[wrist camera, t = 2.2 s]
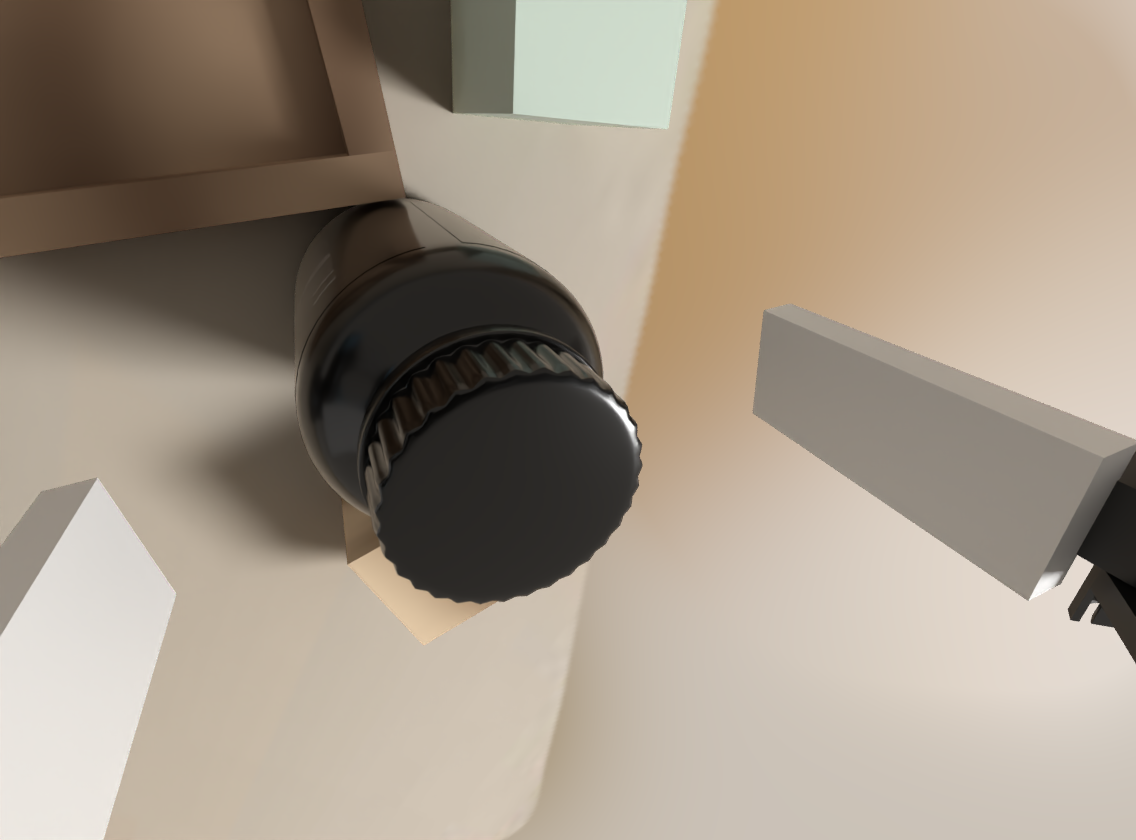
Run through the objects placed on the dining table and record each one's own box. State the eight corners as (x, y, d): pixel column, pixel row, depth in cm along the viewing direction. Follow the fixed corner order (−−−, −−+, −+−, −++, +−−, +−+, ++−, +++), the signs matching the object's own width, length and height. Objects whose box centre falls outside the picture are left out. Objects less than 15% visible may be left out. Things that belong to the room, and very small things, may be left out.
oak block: (403, 555, 24) (423, 645, 20) (339, 477, 21) (347, 564, 17) (504, 498, 24) (543, 574, 20) (455, 414, 21) (490, 484, 17)
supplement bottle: (393, 424, 20) (471, 700, 11) (243, 280, 16) (156, 520, 7) (536, 315, 21) (735, 491, 11) (423, 147, 17) (586, 194, 7)
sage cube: (452, 113, 17) (512, 113, 12) (449, -56, 15) (519, -136, 10) (571, 124, 18) (668, 129, 13) (582, -27, 16) (699, -85, 11)
